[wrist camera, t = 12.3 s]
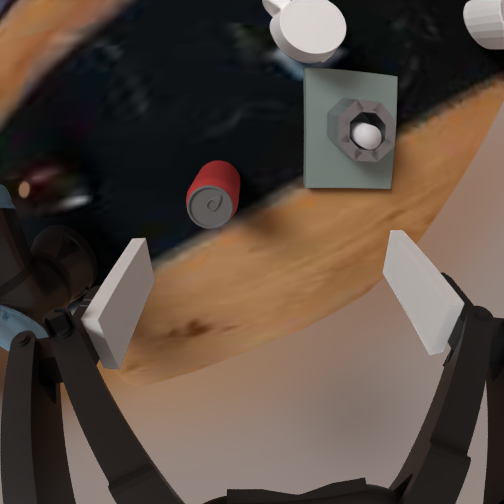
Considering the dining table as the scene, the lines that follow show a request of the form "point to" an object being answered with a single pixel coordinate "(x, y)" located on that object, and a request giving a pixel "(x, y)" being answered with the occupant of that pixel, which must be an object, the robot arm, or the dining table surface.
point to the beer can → (214, 195)
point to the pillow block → (361, 132)
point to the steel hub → (378, 117)
